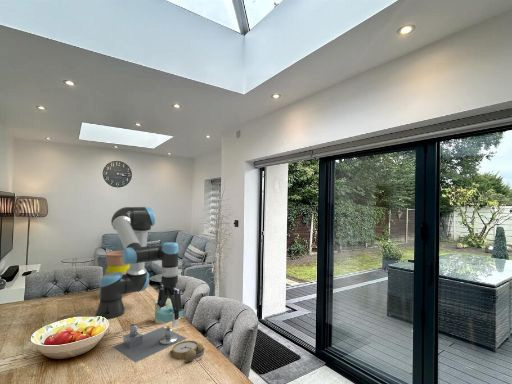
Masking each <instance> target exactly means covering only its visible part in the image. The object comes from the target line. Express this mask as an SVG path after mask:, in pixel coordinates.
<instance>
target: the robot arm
mask: <svg viewBox="0 0 512 384" xmlns="http://www.w3.org/2000/svg"><path fill="white" fill-rule="evenodd" d="M110 221H111V226H112V228H113V230H115V231H116V233H117V236H118V237H119V240H120V241H121V244H122V248H123V249H122V251H123V252H122V259H123V263H125V264H130V268H129V269H128V270H127V272H126V274H124V275H123V274H122V273H121V272H117V273H111V274H108V275H105V274H104V275H105V276H104V275H103V276H102V277H101V279H100V285H99V287H100V289H99V303H98V306H97V310H96V311H95V317H96V316H102V317H105V318H107V319H106V320H110V319H115V318H118V317H121V316H123V315H124V314H125V313H126V312H125V310H126V309H125V305H124V302H123V297H122V294H127V293H131V294H133V293H139V292H142V291H145V290H146V289H147V288H148V286H149V284H150V273H149V272H148V271H147V269H146V268H145V267H146V266H145V263H150V262H156V261H161V284H160V285H158V290H159V291H158V297H157V300H158V301H157V305H159V307H160V310H162V309H165V308H166V307H164V306H166V301H167V298H169V299H171V303H172V307H173V311H174V312H172V313H173V317H172V321H171V322H172V323H171V324H172V325H171V326H172V327H171V328H176V327H179V319H180V318H179V312H180V311H182V310H183V306H182V297H181V292H182V291H181V289H180V288H177V284H178V283H179V276H178V274H179V244H178V243H177V242H171V241H170V242H169V241H167V242H163V243H161V244H156V245H149V246H148V235H149V231H151V230H152V227H153V226H155V224H156V215H155V211H154V209H153V208H152V207H147V206H125V207H122V208H119V209H118V210H116V211H115V212H114V213H113V215H112V217H111V220H110ZM160 301H161V302H160ZM160 322H163V321H161V320H160Z"/></svg>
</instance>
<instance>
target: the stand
mask: <svg viewBox="0 0 512 384" xmlns="http://www.w3.org/2000/svg"><path fill="white" fill-rule="evenodd" d="M137 326H138V325H137V323H133V324H130V325H129V327H130V328H129V333H128V334H125V335H123V342H122V343H123V345H124V346H126V347H128V348H129V349H131V348H133V347H136V346H138V345H141V344H143V335H144V334H142V333H141V332H138V331H137V330H138V329H137Z"/></svg>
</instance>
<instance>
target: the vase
mask: <svg viewBox="0 0 512 384" xmlns="http://www.w3.org/2000/svg"><path fill="white" fill-rule="evenodd" d="M122 252H123V250H111V251H108V252H104V256H105V257H106V258H105V259H106V262H107V263H106V264H107V268H106V270H105V272H104V275H103V276H105V275H108V274H111V273H117V272H121V273H122V274H123V275H124V274H126V272H127V270H128V269H129V268H130V264H125V263H123V259H122ZM131 294H132V293H127V294H122V298H125V297H128V296H130V295H131Z"/></svg>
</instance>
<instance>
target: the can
mask: <svg viewBox="0 0 512 384" xmlns="http://www.w3.org/2000/svg"><path fill="white" fill-rule="evenodd" d="M157 301H158V299H156V300H155V302H154V313H155V312H156V311H159V310H160V307H159V305H157ZM160 302H161V301H160ZM171 306H172V303H171V299H170V298H169V297H168V298H167V301H166V306H164V307H166V308H168V307H171ZM154 323H155V324H158V325H165V324H166V323H165V322H160V320H158V319H156V318H155V317H154ZM168 323H169V324H170V322H168ZM168 323H167V324H168Z"/></svg>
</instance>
